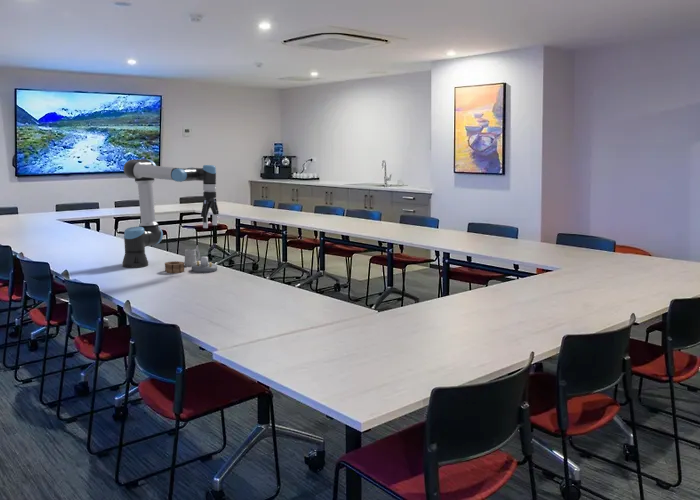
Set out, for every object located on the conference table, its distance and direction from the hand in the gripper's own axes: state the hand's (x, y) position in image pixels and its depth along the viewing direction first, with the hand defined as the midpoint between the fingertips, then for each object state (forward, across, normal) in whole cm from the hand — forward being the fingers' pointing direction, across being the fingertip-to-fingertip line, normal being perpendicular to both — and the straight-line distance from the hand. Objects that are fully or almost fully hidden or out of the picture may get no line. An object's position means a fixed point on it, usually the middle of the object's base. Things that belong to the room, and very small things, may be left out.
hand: (210, 226), depth 377 cm
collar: (+26, -14, +17) cm, 34 cm away
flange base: (+26, -6, +1) cm, 26 cm away
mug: (+26, +8, +16) cm, 32 cm away
